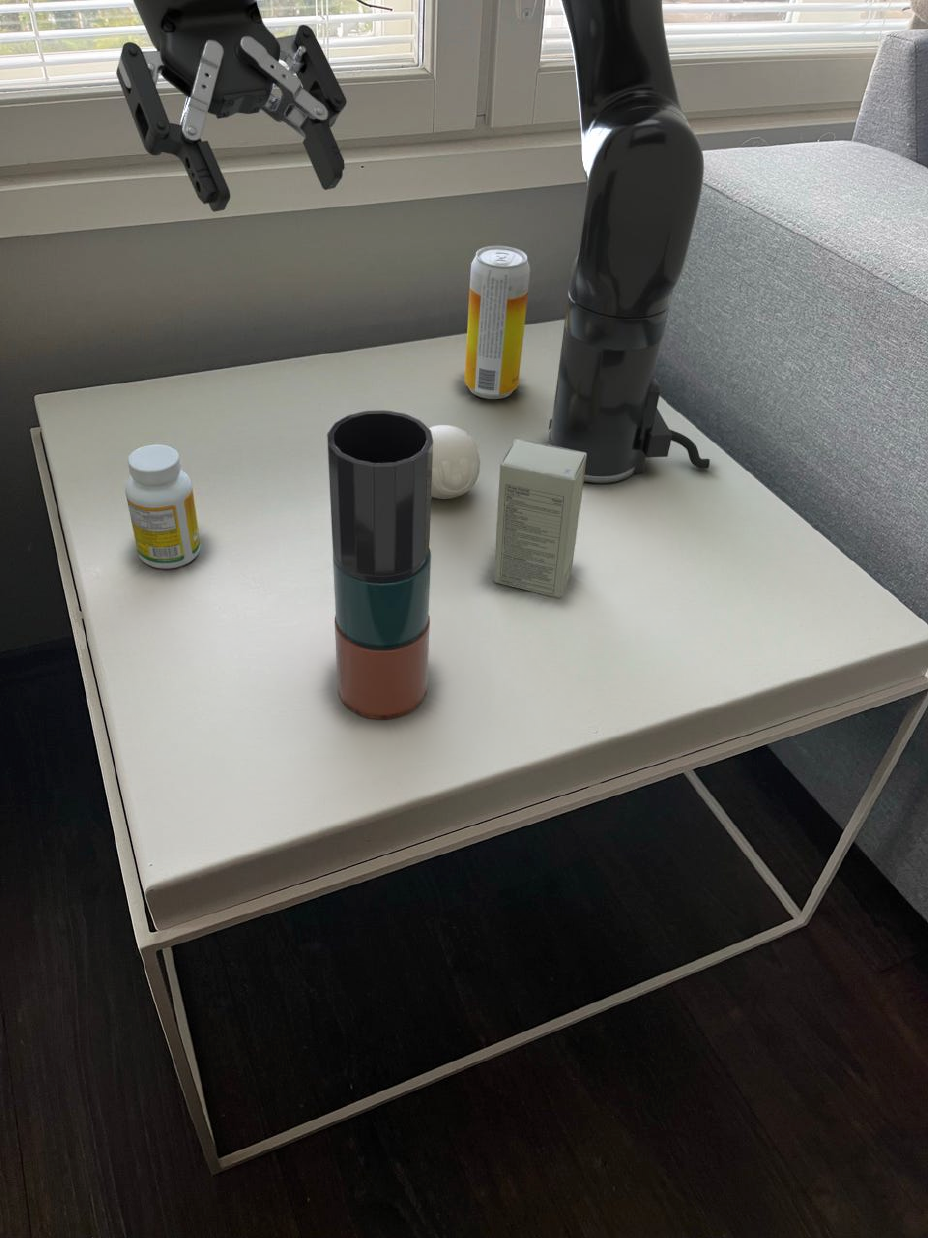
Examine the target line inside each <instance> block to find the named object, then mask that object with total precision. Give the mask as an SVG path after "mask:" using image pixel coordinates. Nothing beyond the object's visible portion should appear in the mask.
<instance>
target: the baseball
mask: <svg viewBox="0 0 928 1238" xmlns="http://www.w3.org/2000/svg"><path fill="white" fill-rule="evenodd" d="M428 428H429V429H430V430H431V433H432V438H433V463H432V490H431V498H434V499H438V500H451V499H455V498H458V497H460V496H462V495H464V494H466V493H467V492H468V491H469V490H471V489H472V488H473V486H475V484H476V482H477V480H478V477H479V475H480V471H481V455H480V451H479V447H478V445H477V443H476V441H475V440H474V439H473V437H471V435H470V434H468V432H466V431H465V430H464V429H461V428H460V427H457V426H454V425H448V424H438V425H433V426H430V427H428Z"/></svg>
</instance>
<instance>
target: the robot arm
mask: <svg viewBox="0 0 928 1238" xmlns="http://www.w3.org/2000/svg"><path fill="white" fill-rule="evenodd" d="M132 1H133V3H134V6H135V8H136V10H137V12H138V15H139V17H140V19H141V21H142V25H143V26H144V28H145V30H146V33H147V35H148V37H149V39H150V42H151V44H152V46H153V47H154V49H156V50H148V51H146V50H145V51H143V50H142V48H141V47H140V46H139V45H138V44H137V43H135V42H132V41H127V42H125V43H124V44H123V45H122V47H121V51H120V56H119V61H118V64H117V67H116V72H115V74H116V78H117V80H118V83H119V86H120V88H121V90H122V93H123V96H124V98H125V101H126V103H127V105H128V108H129V111H130V114H131V116H132V119H133V122H134V124H135V127H136V130H137V132H138V134H139V137H140V140H141V142H142V143H141V144H142V145H143V148H144V150H145V151H146V152H147V153H148V154H150V155H152V156H160V155H161V154H162V153H165V154H170V155H174V156H175V157H177V159H179V160H180V161H181V163H182V165H183V168H184V170H185V172H186V173H187V176H188V178H189V180H190V183H191V186H192V187H193V189H194V191H195V194H196V196H197V199H199V200H200V201H201V203H202V204H203V205H207V204H208V205H209V208H210V210H211V211H212V212H220V211H224V210H225V209H226V208H227V206H228V204H229V202H230V200H231V191H230V188H229V186H228V183H227V181H226V180H225V177H224V174H223V172H222V170H221V167H220V166H219V164H218V161H217V159H216V157H215V154H214V152H213V150H212V148H211V145H210V143H209V140H202V138H201V137H202V134H203V130H204V126H205V122H206V118H207V114H210V115H214V116H215V117H216V119H225V118H229V117H231V116H233V115H236V114H244V115H252V114H259V112H260V111H263V112H264V113H265V114H266V115H268V116H269V117H270V118H271V119H272V120H274V121H276V122H278V123H285V124H287V125H288V126H289V127H290V128H291V129H293V130H294V131H296V132H297V133H298V134H299V135H300V136H302V137H303V141H302V144H303V146H304V149H305V151H306V153H307V156H308V158H309V161H310V163H311V165H312V167H313V169H314V173H315V174H316V176H317V178H318V181H319V183H320V186H321V187H322V189H323V190H325V191H327V190H332V189H335V188H336V187H337V186H338V185H339V183H340V181H341V180H342V178H343V175H344V173H343V171H344V170H345V168H346V167H345V159H344V156H343V155H342V153H341V150H340V148H339V145H338V143H337V141H336V138H335V136H334V134H333V132H332V130H331V128H332V127H333V126H334V125H335V123H336V122H337V119H338V118H339V116H340V114H341V113H342V111H343V110H344V109H345V107H346V106H347V102H348V101H347V98H346V96H345V94H344V92H343V89H342V87H341V85H340V83H339V81H338V79H337V77H336V75H335V73H334V71H333V69H332V67H331V65H330V63H329V61H328V59H327V57H326V54H325V52H324V50H323V48H322V46H321V44H320V43H319V39H318V38H317V36H316V34H315V32H314V30H313V29H312V28H311V27H310V26H309V25H307V24H300V25H299V26H298V28H297V30H296V31H295V33H294V34H290V35H285V36H280V37H276V36H275V35H274V34H273V33H272V31H270V30H269V29H268V27H267V26H266V25H265V23H264V21H263V18H262V14H261V10H260V6H259V5H260V4H259V2H258V0H132ZM559 3H560V6H561V9H562V12H563V15H564V18H565V22H566V25H567V30H568V33H569V38H570V42H571V47H572V52H573V58H574V59H573V60H574V66H575V67H574V68H575V75H576V83H577V84H576V86H577V94H578V105H579V107H578V108H579V115H580V116H579V119H580V133H581V134H580V135H581V158H582V167H583V172H584V176H585V180H586V183H587V186H586V194H585V195H586V196H585V202H584V211H583V217H582V223H581V232H580V238H579V246H578V251H577V255H576V258H575V259H574V261H573V263H572V265H571V269H570V276H569V285H568V291H567V301H566V308H565V313H564V314H565V316H564V322H563V323H564V324H563V331H562V337H561V346H560V354H559V362H558V368H557V369H558V370H557V377H556V385H555V393H554V400H553V408H552V415H551V419H549V424H548V425H549V426H548V430H550V431H549V435H548V442H547V445H552V446H556V447H562V448H566V449H571V450H576V451H580V452H585V453H586V454H587V456H586V465H585V473H584V481H583V482H587V483H594V484H608V483H609V484H610V483H614V482H619V481H622V480H625V479H627V478H629V477H630V476H633V474H640V473H641V474H642V473H644V470H645V466H646V462H647V461H646V460H647V458H667V457H668V456H669V451H670V448H671V443H672V442H674V443H677V444H679V445H680V446H682V447H683V448H684V449H685V450H686V451H687V454H688V458H689V460H690V463H691V464H692V465H693V466H694V467H696V468H698V469H701V470H702V469H703V470H705V469H709V468H710V462H711V461H710V458H701V457H700V454H699V450H698V446H697V445H696V443H695V442H693V441H692V439H690V438H689V437H687V436H686V435H684V434H682V433H680V432H677V431H676V430H672V429H670V427H668V424H667V423H666V421H665V420H664V417H663V416H662V414H661V412H660V410H659V409H658V404H659V400H660V395H661V394H660V393H661V386H660V384H659V382H658V380H657V379H656V375H657V370H658V366H659V365H658V364H659V361H660V356H661V349H662V345H663V341H664V336H665V330H666V325H667V320H668V316H669V311H670V305H671V302H672V296H673V293H674V289H675V287H676V286H677V284H678V282H679V281H680V278H681V276H682V274H683V271H684V267H685V265H686V260H687V256H688V251H689V248H690V243H691V241H692V236H693V231H694V228H695V222H696V218H697V213H698V209H699V205H700V201H701V195H702V191H703V190H702V189H703V183H704V177H705V176H704V174H705V160H704V159H705V158H704V153H703V149H702V146H701V143H700V141H699V139H698V137H697V135H696V133H695V132H694V129H693V128H692V126H691V125H690V123H689V121H688V119H687V118H686V116H685V113H684V110H683V108H682V105H681V101H680V97H679V93H678V90H677V86H676V82H675V76H674V74H673V68H672V63H671V62H672V61H671V57H670V51H669V47H668V42H667V35H666V30H665V23H664V13H663V12H664V11H663V0H559ZM280 61H283V62H284V63H285V65H287V66H288V68H287V67H285V66H284V65H283V64H281V63H280ZM159 75H161V77H162V78H163V79H164V80H165V81H166V82H168V83H169V84H170V85H172V86H173V87H174V88H175V89H176V90H178V92H180V93H182V95H184V96H185V97H186V99H185V103H184V108H183V111H182V114H181V118H180V121H179V122H180V123H179V124H178V123H173V122H170V120H169V118H168V115H167V112H166V110H165V107H164V105H163V102H162V99H161V96H160V94H159V91H158V88H157V85H158V81H159V78H160V77H159ZM275 86H276V87H277V88H279V90H280V91H281V97H277V96H275V95H274V94H273V91H274V87H275Z"/></svg>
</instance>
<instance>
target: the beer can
mask: <svg viewBox="0 0 928 1238" xmlns="http://www.w3.org/2000/svg"><path fill="white" fill-rule="evenodd" d="M530 274H531V266H530V263H529V261H528V255H527V254H526V253H525V252H524V251H522V250H521V249H519V248H517V247H512V246H506V245H488V246H484V247H481V248H479V249H478V250H477V251H476V252H475V256H474V258H473V259H472V262H471V264H470V279H469V292H468V293H469V295H468V311H467V326H466V329H467V330H466V344H465V362H464V377H463V379H464V384H465V385H466V387H468V389H469V391H470V392H471V393H472V394H474V395H475V396H476V397H479V398H483V399H488V400H497V399H504V398H507V397H509V396H510V395H511V394H512V393H513V391H514V390H516V389H517V388H518V386H519V383H520V372H521V363H522V354H523V353H522V352H523V345H524V343H523V342H524V333H525V324H526V323H525V322H526V314H527V313H526V312H527V304H528V295H529V293H528V292H529V286H530V285H529V284H530Z"/></svg>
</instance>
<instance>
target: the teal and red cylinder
mask: <svg viewBox="0 0 928 1238" xmlns="http://www.w3.org/2000/svg"><path fill="white" fill-rule="evenodd" d="M431 551H432V550H431V548H430V547H429V551H428V558H427V561H426V563H425V565H424V566H423V567H422V568H421V569H420V570H419V571H418V572H417V573H415V574H414V575H412V576H410V577H408V578H405V579H403V580H399V581H394V582H387V583H375V582H367V581H363V580H359V579H356V578H354V577H352V576H350V575H348V574H346V573H345V572H344V571H342V570H341V569H340V568H339V567H338V565H337V564H336V562H335V560H334V557H333V556H332V566H333V567H332V568H333V588H334V589H333V590H334V606H335V607H334V608H335V609H334V610H335V615H334V638H335V657H336V658H335V659H336V661H335V662H336V679H337V680H336V681H337V692H338V695H339V698H340V700H341V702H342V703H343V704H344V705H345V706H346V707H347V709H349V710H350V711H352V712H353V713H355V714H357V715H359V716H361V717H364V718H368V719H371V720H372V719H373V720H391V719H396V718H397V719H398V718H400V717H403V716H405V715H407V714H410V713H411V712H413V711H414V710H416V709H417V708H418V707H419V706H420V704H422V703H423V702H424V699H425V698H426V695H427V693H428V681H429V680H428V679H429V655H430V654H429V652H430V632H431V631H430V628H431V619H430V593H431V591H430V590H431V571H432V570H431V568H432V567H431V566H432V565H431V564H432V552H431Z"/></svg>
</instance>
